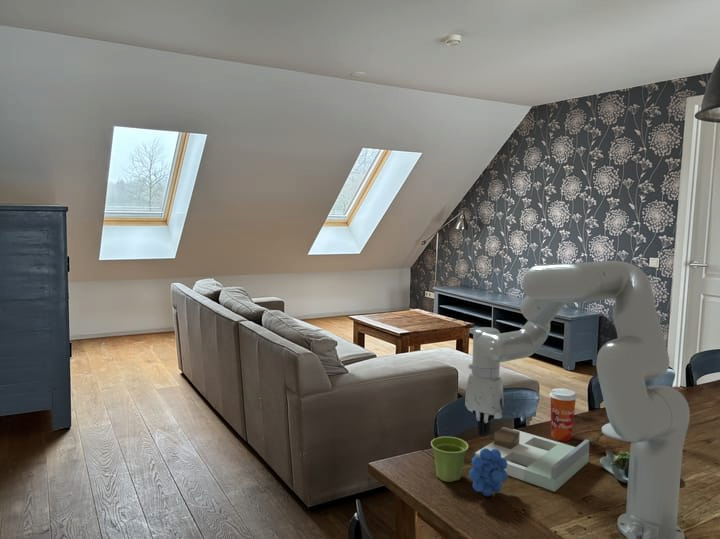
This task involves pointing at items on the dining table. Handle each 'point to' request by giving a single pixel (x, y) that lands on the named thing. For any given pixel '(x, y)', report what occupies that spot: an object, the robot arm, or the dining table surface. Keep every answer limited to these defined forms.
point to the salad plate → (617, 465)
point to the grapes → (488, 471)
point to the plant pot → (449, 457)
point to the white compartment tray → (542, 460)
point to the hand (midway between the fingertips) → (483, 433)
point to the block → (506, 437)
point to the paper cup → (562, 413)
